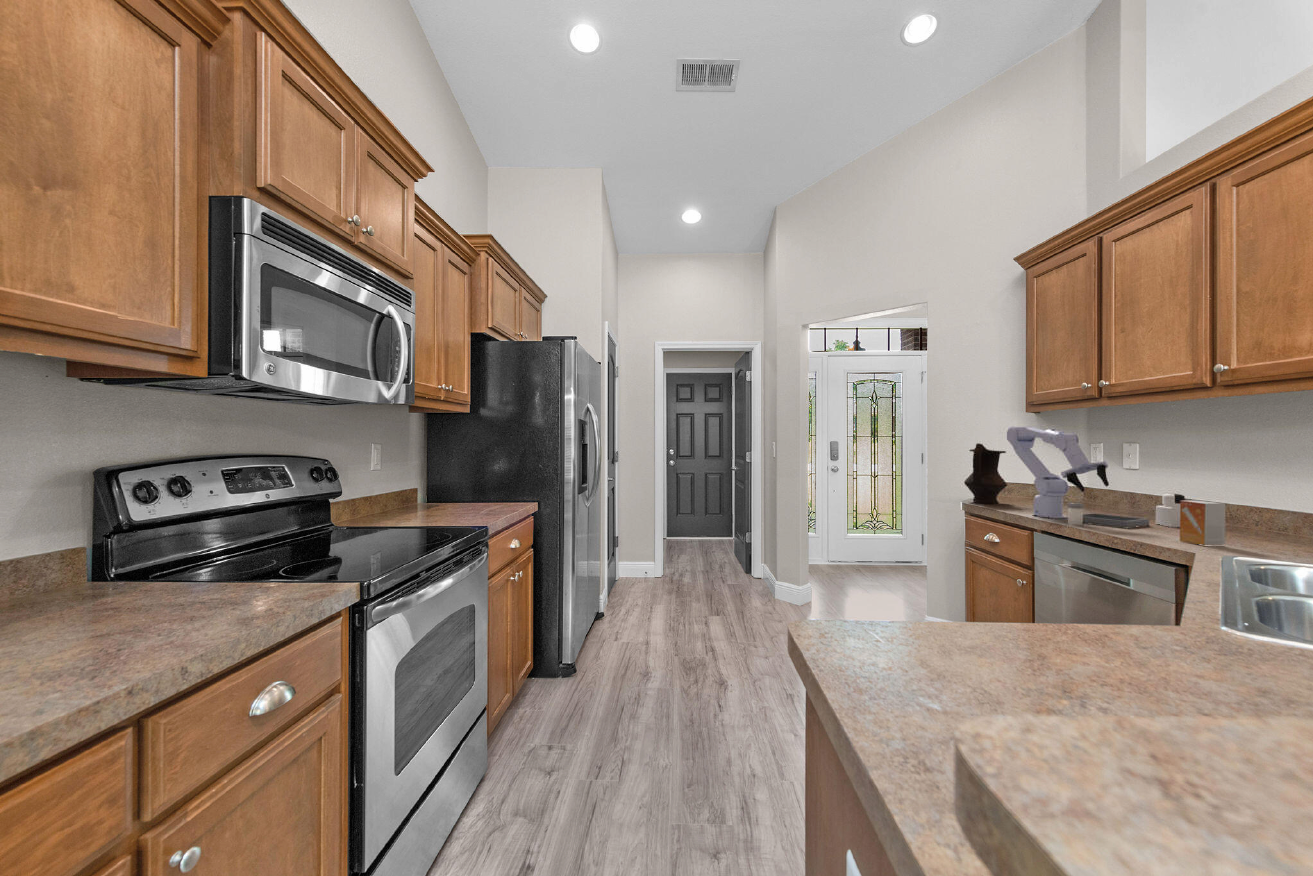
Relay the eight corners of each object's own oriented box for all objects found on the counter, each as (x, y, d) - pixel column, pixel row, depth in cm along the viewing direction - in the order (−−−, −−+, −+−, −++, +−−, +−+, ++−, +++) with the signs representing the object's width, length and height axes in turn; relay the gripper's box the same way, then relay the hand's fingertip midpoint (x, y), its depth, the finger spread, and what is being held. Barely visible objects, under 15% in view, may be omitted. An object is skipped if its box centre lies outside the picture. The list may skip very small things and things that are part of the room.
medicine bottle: (1175, 524, 207) (1175, 493, 207) (1192, 527, 200) (1192, 495, 200) (1155, 524, 208) (1155, 492, 208) (1170, 527, 200) (1171, 494, 200)
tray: (1070, 521, 213) (1070, 515, 213) (1093, 519, 220) (1093, 513, 220) (1126, 528, 197) (1126, 521, 197) (1149, 525, 204) (1149, 519, 204)
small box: (1179, 541, 172) (1179, 500, 172) (1199, 541, 172) (1199, 500, 172) (1204, 546, 164) (1205, 503, 164) (1226, 546, 164) (1226, 503, 164)
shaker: (1065, 524, 206) (1065, 502, 206) (1071, 523, 208) (1072, 502, 208) (1078, 525, 202) (1079, 504, 202) (1085, 525, 204) (1085, 503, 204)
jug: (972, 499, 288) (973, 443, 288) (1012, 503, 274) (1013, 443, 274) (955, 502, 274) (956, 443, 275) (996, 506, 260) (997, 443, 260)
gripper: (1056, 458, 212) (1073, 487, 203) (1099, 447, 207) (1119, 477, 198) (1055, 468, 217) (1072, 496, 208) (1097, 457, 212) (1117, 486, 203)
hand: (1095, 487), depth 203 cm, fingers open, 7 cm apart
